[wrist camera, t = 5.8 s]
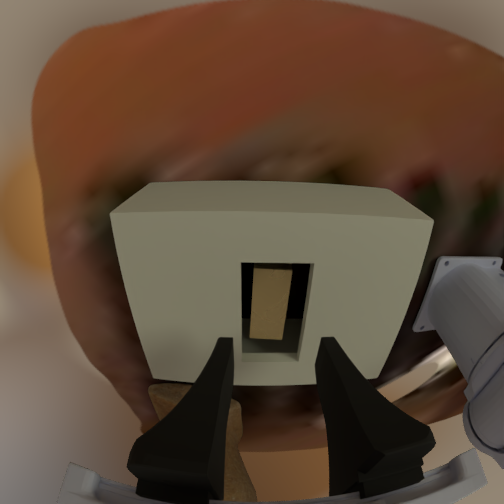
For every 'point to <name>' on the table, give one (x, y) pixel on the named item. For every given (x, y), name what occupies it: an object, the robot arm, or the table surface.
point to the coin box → (267, 251)
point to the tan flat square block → (270, 299)
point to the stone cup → (235, 471)
